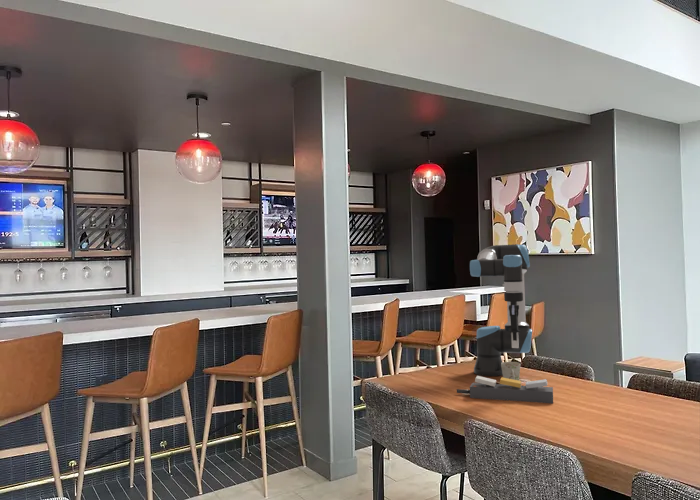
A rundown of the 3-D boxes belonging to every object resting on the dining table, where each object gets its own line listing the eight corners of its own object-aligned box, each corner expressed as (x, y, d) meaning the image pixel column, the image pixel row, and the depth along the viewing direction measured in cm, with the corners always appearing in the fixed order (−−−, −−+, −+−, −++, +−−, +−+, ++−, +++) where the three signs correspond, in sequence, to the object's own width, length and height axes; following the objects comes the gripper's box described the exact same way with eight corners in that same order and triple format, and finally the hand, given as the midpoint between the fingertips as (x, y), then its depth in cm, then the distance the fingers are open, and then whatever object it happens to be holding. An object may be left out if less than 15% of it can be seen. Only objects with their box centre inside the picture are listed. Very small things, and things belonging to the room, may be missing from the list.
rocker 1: (476, 379, 223) (477, 375, 223) (495, 383, 220) (496, 380, 220) (474, 381, 218) (475, 378, 218) (494, 386, 216) (495, 382, 216)
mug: (518, 383, 240) (518, 361, 241) (525, 390, 228) (524, 367, 228) (500, 383, 241) (499, 361, 241) (505, 390, 229) (504, 367, 229)
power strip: (458, 392, 227) (458, 379, 227) (553, 398, 213) (552, 385, 214) (455, 396, 220) (455, 383, 220) (553, 403, 206) (552, 389, 206)
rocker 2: (501, 381, 220) (501, 377, 219) (521, 384, 217) (521, 381, 217) (499, 383, 215) (500, 379, 215) (520, 387, 212) (520, 383, 212)
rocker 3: (527, 385, 216) (526, 381, 216) (547, 383, 213) (546, 379, 213) (526, 388, 211) (525, 384, 211) (547, 385, 208) (546, 381, 208)
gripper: (505, 290, 229) (507, 344, 229) (502, 293, 217) (504, 350, 217) (523, 290, 227) (525, 345, 227) (521, 293, 214) (523, 351, 215)
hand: (515, 347), depth 222 cm, fingers closed
